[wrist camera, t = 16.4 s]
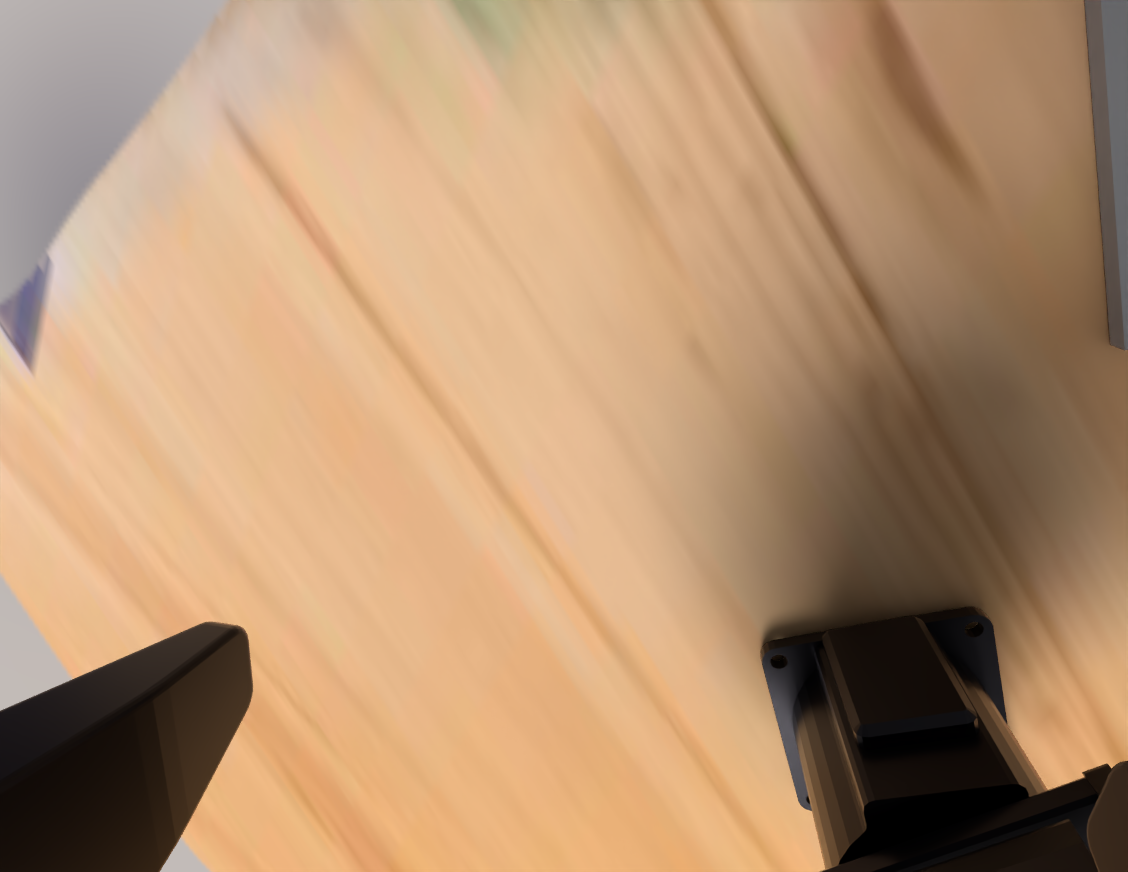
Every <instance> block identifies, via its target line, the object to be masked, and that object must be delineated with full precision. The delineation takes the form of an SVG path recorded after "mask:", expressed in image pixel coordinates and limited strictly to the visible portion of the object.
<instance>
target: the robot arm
mask: <svg viewBox="0 0 1128 872" xmlns="http://www.w3.org/2000/svg"><path fill="white" fill-rule="evenodd" d="M972 622H978V623H977V625H976V626H975V627H973V628H970V629H965V627H966V626H967V625H968V624H969V623H972ZM776 655H783V656H784V658H783V659H781V660H773V659H771V658H772V657H773V656H776ZM761 661H762V665H763V669H764V673H765V677H766V680H767V684H768V688H769V692H770V695H771V699H772V703H773V707H774V711H775V714H776V718H777V722H778V726H779V729H780V733H781V737H782V741H783V744H784V748H785V752H786V756H787V760H788V763H789V767H790V771H791V775H792V778H793V782H794V786H795V790H796V793H797V797H798V801H799V803H800V805H801V806H802V807H804V808H805V809H807V810H810V811H812V813H813V817H814V822H815V826H816V830H817V835H818V839H819V843H820V848H821V852H822V856H823V860H824V865H825V870H823V871H820V872H1128V761H1123V762H1119V763H1118V764H1116V765H1115V766H1114V767H1113V768H1112V769H1111V768H1110V766H1109V765H1108V764H1104V765H1101V766H1099V767H1096V768H1093V769H1090V770H1087V771H1085V772H1082V773H1083V775H1084V778H1081V779H1078V780H1075V781H1073V782H1070V783H1067V784H1064V785H1061V786H1058V787H1056V788H1053V789H1050V790H1047V788H1046V786H1045V785H1044V783H1043V782H1042V780H1041V778H1040V777H1039V775H1038V774H1037V772H1036V770H1035V769H1034V767H1033V766H1032V764H1031V762H1030V761H1029V759H1028V758H1027V756H1026V754H1025V753H1024V751H1023V750H1022V748H1021V746H1020V745H1019V743H1018V742H1017V740H1016V738H1015V737H1014V735H1013V734H1012V732H1011V730H1010V729H1009V727H1008V725H1007V719H1006V712H1005V705H1004V699H1003V692H1002V685H1001V678H1000V671H999V664H998V657H997V650H996V643H995V636H994V629H993V625H992V623H991V621H990V619H989V618H988V617H987V615H986V614H985V613H984V612H983V611H982V610H981V609H979V608H976V607H963V608H958V609H952V610H946V611H940V612H934V613H929V614H923V615H917V616H906V617H901V618H895V619H889V620H883V621H877V622H872V623H866V624H860V625H854V626H848V627H843V628H837V629H831V630H828V631H824V632H818V633H812V634H807V635H801V636H795V637H789V638H783V639H777V640H773V641H770V642H767V643H766V644H765V645H764V646H763V647H762V649H761ZM252 692H253V680H252V670H251V660H250V650H249V640H248V635H247V633H246V631H245V630H244V629H243V628H242V627H240V626H238V625H231V624H225V623H218V622H204V623H202V624H199V625H197V626H195V627H192V628H190V629H188V630H185V631H183V632H181V633H179V634H176V635H174V636H172V637H169V638H167V639H165V640H162V641H160V642H158V643H155V644H153V645H151V646H149V647H146V648H144V649H142V650H139V651H137V652H135V653H132V654H130V655H128V656H126V657H123V658H121V659H119V660H116V661H114V662H112V663H109V664H107V665H105V666H102V667H100V668H98V669H96V670H93V671H91V672H89V673H86V674H84V675H82V676H79V677H77V678H75V679H73V680H70V681H68V682H66V683H63V684H61V685H59V686H56V687H54V688H52V689H49V690H47V691H45V692H43V693H40V694H38V695H36V696H34V697H31V698H29V699H27V700H24V701H22V702H20V703H17V704H15V705H13V706H11V707H8V708H6V709H3V710H1V711H0V872H160V870H161V868H162V867H163V865H164V864H165V862H166V860H167V859H168V857H169V856H170V854H171V852H172V851H173V849H174V847H175V846H176V844H177V843H178V841H179V839H180V837H181V835H182V834H183V832H184V830H185V828H186V826H187V825H188V823H189V821H190V819H191V817H192V815H193V813H194V811H195V810H196V808H197V806H198V804H199V802H200V800H201V798H202V796H203V794H204V792H205V790H206V788H207V787H208V785H209V783H210V781H211V779H212V777H213V775H214V773H215V771H216V769H217V767H218V765H219V764H220V762H221V760H222V758H223V756H224V754H225V752H226V750H227V748H228V746H229V744H230V742H231V741H232V739H233V737H234V735H235V733H236V731H237V729H238V727H239V725H240V723H241V721H242V719H243V717H244V716H245V714H246V712H247V709H248V707H249V705H250V702H251V698H252Z"/></svg>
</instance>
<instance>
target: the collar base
mask: <svg viewBox="0 0 1128 872" xmlns="http://www.w3.org/2000/svg"><path fill="white" fill-rule="evenodd" d="M1085 13H1086V27H1087V40H1088V54H1089V67H1090V80H1091V94H1092V107H1093V120H1094V134H1095V147H1096V161H1097V174H1098V187H1099V201H1100V214H1101V227H1102V241H1103V254H1104V268H1105V281H1106V294H1107V308H1108V321H1109V334H1110V345H1112V346H1115V347H1117V348H1120V349H1123V350H1128V0H1085Z"/></svg>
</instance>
